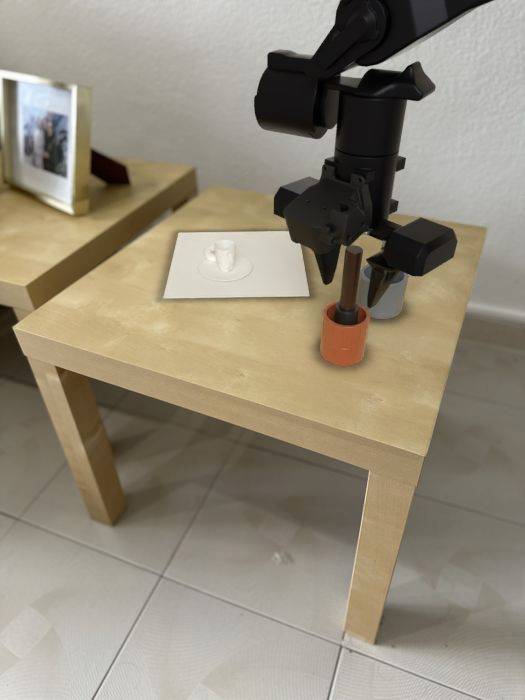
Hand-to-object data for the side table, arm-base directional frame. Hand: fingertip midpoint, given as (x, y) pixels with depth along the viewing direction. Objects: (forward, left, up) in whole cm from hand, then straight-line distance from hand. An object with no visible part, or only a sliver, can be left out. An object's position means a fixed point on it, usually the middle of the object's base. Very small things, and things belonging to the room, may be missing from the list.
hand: (348, 294), depth 55 cm
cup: (+3, -11, -8) cm, 14 cm away
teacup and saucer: (+25, -5, -8) cm, 27 cm away
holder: (0, 0, -8) cm, 8 cm away
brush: (0, 0, -6) cm, 6 cm away
